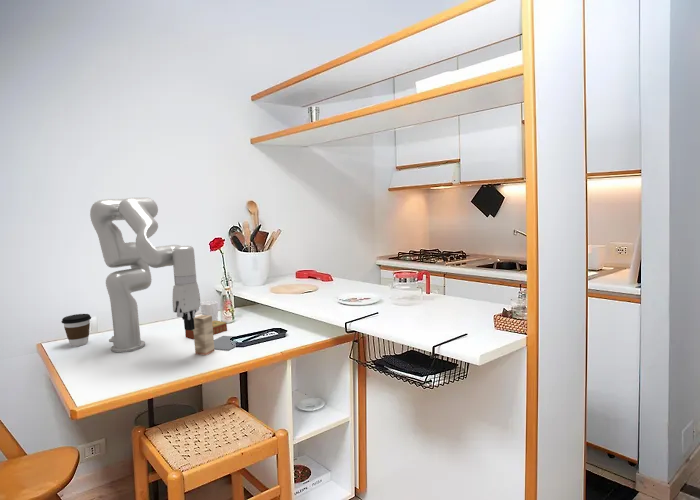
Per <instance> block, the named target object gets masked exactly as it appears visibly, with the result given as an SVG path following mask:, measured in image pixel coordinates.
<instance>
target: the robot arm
mask: <svg viewBox="0 0 700 500" xmlns="http://www.w3.org/2000/svg"><path fill="white" fill-rule="evenodd" d="M89 211H90V213H89V218H90V222H91V224H92V226H93V228H94V230H95V232H96V234H97V237H98V241H99V246H100V250H101V253H102V258H103V261H104V263H105V265H106V267H108V268H111V269H112V268H113V269H116V268H117V269H118V268H124V267H129V266H130V268H129V269H127V268H125V269H121V270H117V271H113V272H111V273H110V274H108V275H107V277H106V278H105V287H106V291H107V294H108V297H109V302H110V311H111V317H112V327H113V328H112V329H113V335H112V336H111V338H110V339H108V342H109V343H112V346H111V347H110V350H111V352H115V353H127V352H132V351H136V350H139V349H142V348H144V347H146V341H144V340H141V329H140V319H139V310H138V302H137V300H136V299H135V297H134V296H133V295H132V293H134V292H140V291H144V290H147V289H149V288H150V286H151V284H152V280H153V279H152V274H151V273H152V272H151V269H150V267H151V268H153V269H159V268H164V267H173V269H172V270H173V278H174V285H173V286H172V311H173V313H176V317H177V318H182V320H183V325H184V331H185V330H193V329H195V327H194V319H193V318H195V317H196V313H197V312H198V311H200V308H201V306H200V303H201V296H200V289H199V285H198V282H197V271H196V270H197V269H196V258H195V249H194V247H193V246H192V245H179V244H169V245H161V246H160V245H159V246H154V245H153V244H152V243H151V241H150V240H149V239H150V238H151V237H152V236H154V234H156V232H157V230H158V229H159V223H158V222H157V220H156V219H155V218H156V216H157V215H158V213H159V207H158V204H157V202H156V201H155V200H154V199H153V198H151V197H128V198H107V199H100V200H97V201H95V202H94V203H93V204H92V205H91V208H90V210H89ZM114 221H125V222H126V223H127V225H128V226H129V227H130V228H131V229H132V231H133V232H134V233H135V235H136V236H135V241H130V242H125V240H124V237H123V234H122V233H123V232H122V231H121V230H120V228H119V227H118V226H117V225H116V224H115V223H113V222H114Z"/></svg>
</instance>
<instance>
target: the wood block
mask: <svg viewBox="0 0 700 500" xmlns="http://www.w3.org/2000/svg"><path fill="white" fill-rule="evenodd" d="M193 319H194V327H195V329H193V331H194V339H193V340H194V352H195V353H194V355H201V356H208V355H209V354H212V353H214V352H215V351H216V350H215V349H214V340H215V339H214V335H213V325H212V315H202V314H199V315H197V316H195V318H193Z"/></svg>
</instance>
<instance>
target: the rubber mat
mask: <svg viewBox="0 0 700 500" xmlns="http://www.w3.org/2000/svg"><path fill="white" fill-rule="evenodd" d="M232 337H236V336H233V335H232V336H231V335H221V336H219V337H217V338H216V339H214V350H215V351H216V350H217V351H228V352H229V351H231V350H234V349H235V348H236V347H235V346H234V345H232V344H231V343H230V338H232Z"/></svg>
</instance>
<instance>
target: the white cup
mask: <svg viewBox="0 0 700 500" xmlns="http://www.w3.org/2000/svg"><path fill="white" fill-rule="evenodd" d="M218 303H219V302H218V301H216V300H209V301H202V302H200V313H201V315H212V321H214V320H215V321H219V311H218V310H219V307H218Z"/></svg>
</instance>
